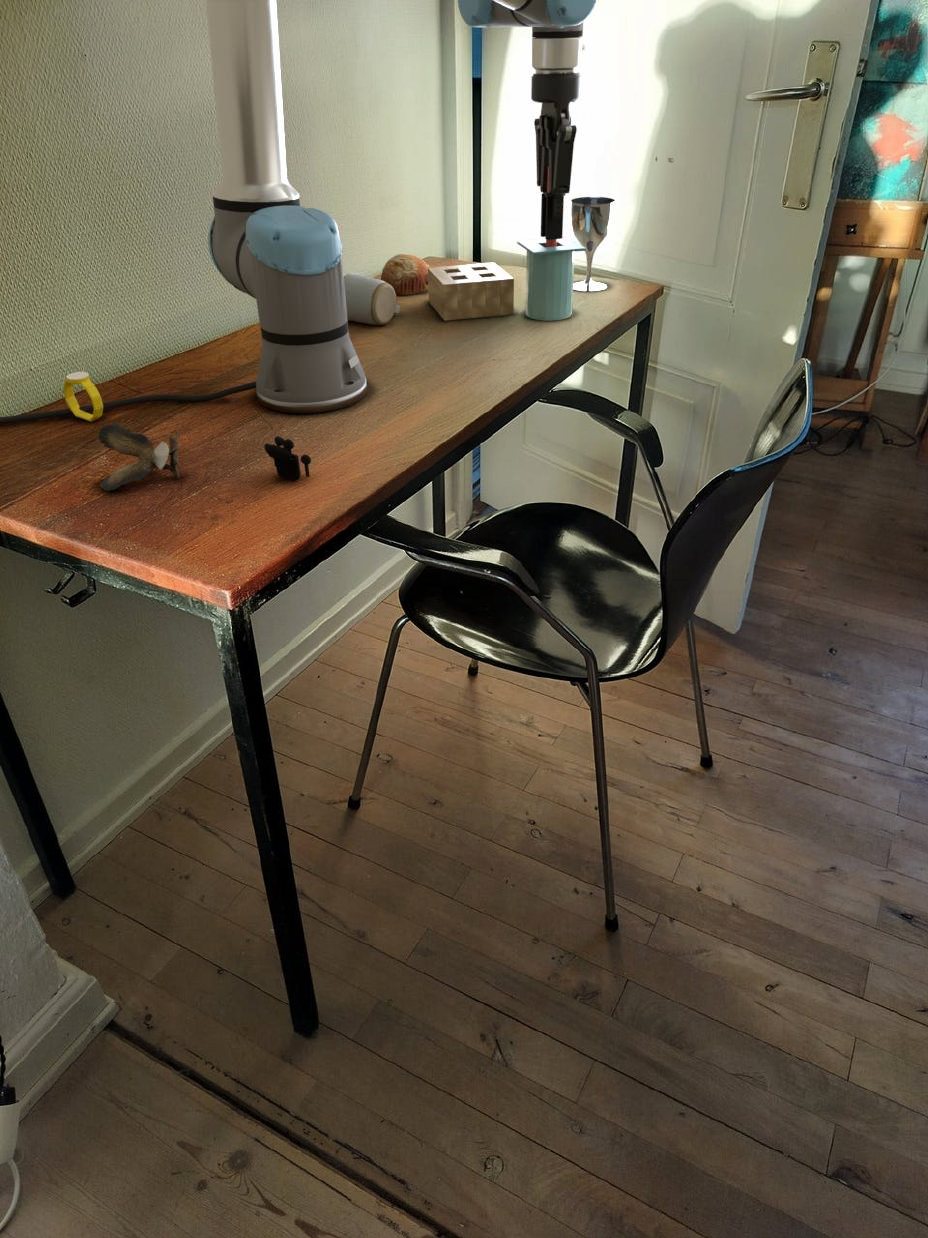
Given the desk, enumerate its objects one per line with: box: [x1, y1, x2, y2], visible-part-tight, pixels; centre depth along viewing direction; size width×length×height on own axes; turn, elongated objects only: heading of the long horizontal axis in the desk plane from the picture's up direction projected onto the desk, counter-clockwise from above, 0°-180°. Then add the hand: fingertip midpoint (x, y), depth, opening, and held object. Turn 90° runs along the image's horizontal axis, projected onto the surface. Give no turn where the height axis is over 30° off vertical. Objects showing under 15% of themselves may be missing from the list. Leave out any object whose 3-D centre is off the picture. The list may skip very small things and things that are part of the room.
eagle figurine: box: [96, 422, 180, 492], centre depth 102 cm, size 8×7×9 cm
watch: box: [62, 371, 104, 423], centre depth 118 cm, size 6×3×6 cm, turn 58°
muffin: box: [380, 253, 431, 296], centre depth 171 cm, size 10×10×8 cm
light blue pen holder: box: [525, 244, 576, 322], centre depth 153 cm, size 8×8×11 cm
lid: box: [516, 236, 586, 255], centre depth 150 cm, size 9×9×1 cm
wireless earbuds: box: [264, 435, 312, 482], centre depth 102 cm, size 7×2×5 cm, turn 55°
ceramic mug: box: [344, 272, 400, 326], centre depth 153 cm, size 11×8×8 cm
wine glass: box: [569, 196, 616, 292], centre depth 166 cm, size 8×8×15 cm
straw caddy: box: [427, 262, 515, 321], centre depth 158 cm, size 12×12×6 cm
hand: (551, 236), depth 149 cm, fingers closed on straw, 2 cm apart
